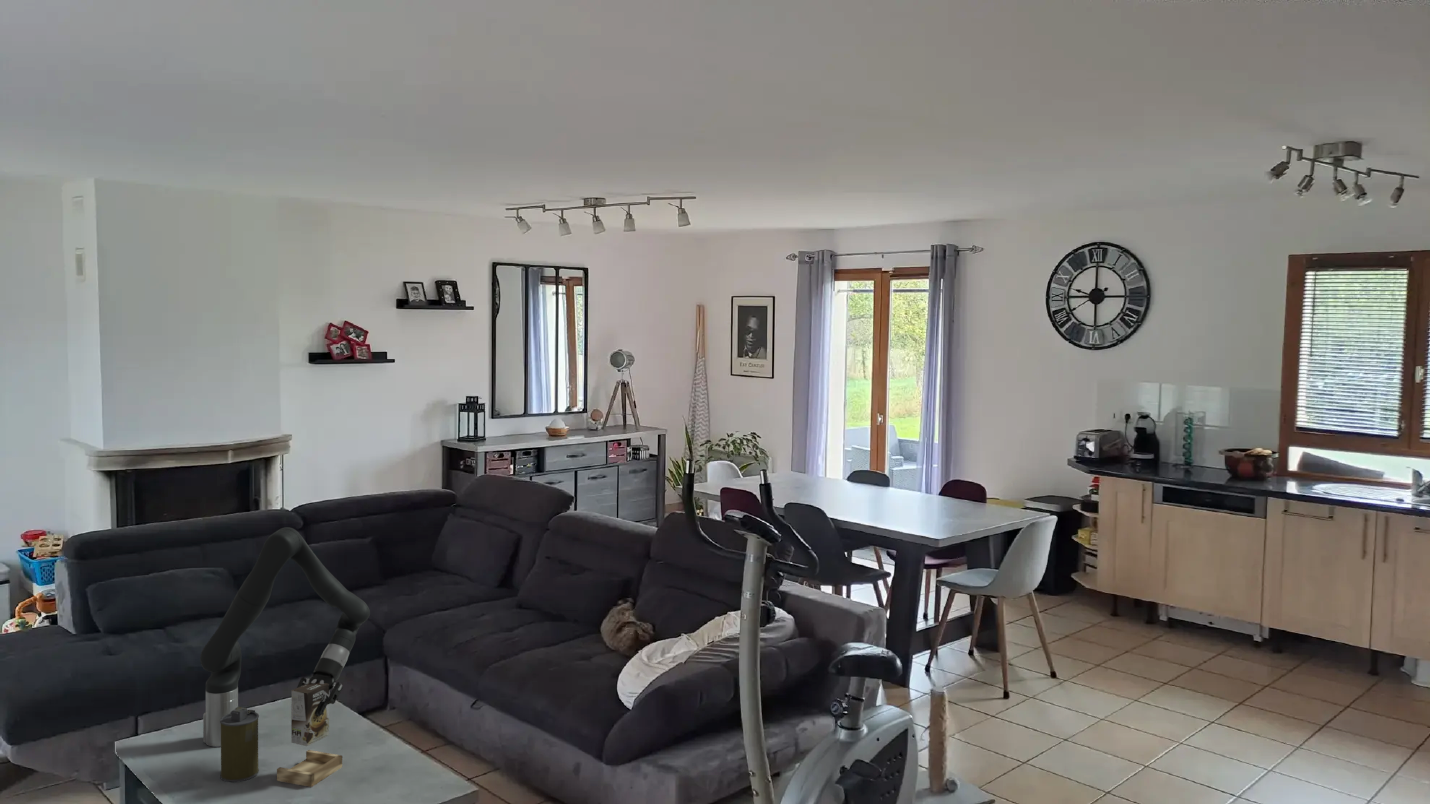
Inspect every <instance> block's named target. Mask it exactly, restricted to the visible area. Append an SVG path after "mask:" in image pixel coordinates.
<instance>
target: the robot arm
mask: <svg viewBox="0 0 1430 804" xmlns="http://www.w3.org/2000/svg"><path fill="white" fill-rule="evenodd" d="M308 544H309V543H307V542H306V540H305V539H304V537H303V536H302V535H301V533H300V532H299V531H297V530H296V529H295V528H293V527H289V526H287V527H286V526H285V527H281V528H280V529H278V530H276V531H275V532H273V533H272V534H270V535H269V536H267V539H266V540H265V542H264V544H263V545H262V548H261V551H260V553H259V555H258V558H257V560H256V562H255V564H254V566H253V568H252V569H251V571H250V572H249V574H248V575H247V577H246V578H245V579H244V580H243V583H242V584H241V586H240V588H239V589H238V590H237V592H236V595H234V598H233V599H232V601H231V603H230V605H229V607H228V608H227V611H226V613H224V614H225V615H224V616H223V618H222V620H221V622H220V624H219V625H218V627H217V629H216V630H215V632H214V633H213V635H212V636H210V638H209V640H208V641H207V643H206V644H205V645H204V647H203V648H202V650H201V652H200V656H199V661H200V665H201V667H202V668H203V670H205V671H206V672H210V676H209V677H208V678H207V680H206V681H205V712H204V713H202V714H203V715H202V716H203V717H202V718H203V719H202V725H203V726H202V728H203V729H202V730H203V731H202V733H203V734H202V735H203V743H205V744H206V745H207V746H210V747H221V723H220V719H221V718H222V717H223V716H225V715H227V714H230V713H231V711H232V710H234V709H235V708H237V707H239V687H238V686H239V680H240V679H241V678H240V677H241V673H242V649H241V645H240V642H239V641H238V640H239V639H240V638H241V636H242V635H243V634H244V633H245V632H246V631H247V630H248V629H249V628H250V627H251V626H252V625H253V623H255V621H256V620H257V619H258V618H259V616H260V615H261V614H262V612H263V610H264V609H265V607H266V605H267V603H268V602H269V600H270V598H271V595H272V590H273V587H274V584H275V580H276V577H277V576H278V574H279V573H280V571H281V570H282V568H283V567H284V565H286V563H287V562H288V561H289V560H290V559H291V560H292V561H294V562H295V563H296V565H297V566H298V567H300V568H301V570H302V572H303V573H304V574H305V576H306V579H307V580H308V582H309V584H310V586H311V588H312V589H313V590H314V592H315V593H316V594H317V596H319V598H321V599H322V601H324V602H325V603H326V604H327V605H328V606H329V607H331V608H337V609H338V610H340V611H341V612H342V613H341V615H340V617H339V619H338V621H337V624H336V628H335V630H334V633H333V634H332V636H331V638H330V639H329V642H328V644H327V646H326V647H325V649H324V650H323V652H322V654H321V656H320V658H319V660H318V662H317V663H316V666H315V668H314V669H313V674H312V676H311V677H310V678H306V677H305V676H302V677H301V678H300V680H299V682H298V684H297V686H296V688H298V687H301V686H303V685H305V684H308V683H310V682H311V683H317V682H320V684H324V683H327V684H329V695H328V694H327V693H326V692H325V691H324V692H323V697H322V702H320V703H319V705H318V707H317V709H316V711H315V715H316V716H319V717H320V716H321V715H322V714H323V712H324V710H325V708H326V706H327V705H328V704H329V705H334V704H335V703H336V701H337V699H338V697H339V696H340V694H341V692H342V691H343V688H344V686H343V684H342V683H341V682H339V681H338V680H339V678H340V676H341V673H342V671H343V670H344V667H345V665H346V663H347V661H348V659H349V656H350V653H351V651H352V649H353V647H354V646H355V645H354V644H355V642H356V638H357V637H356V636H357V634H358V631H359V629H360V627H361V626H362V625H363V624H364V623H365V622H367V621H368V619H369V618H370V617H371V616H370V615H371V610H370V608H369V606H368V604H367V603H366V602H365V601H364V600H363V599H361V598H360V597H359V596H357V595H356V594H354V593H353V592H351V591H350V590H348V589H347V588H346V587H345V586H344V584H342V583H341V582H340V581H339V580H338V579H337V577H335V576H334V575H333V574H332V573H331V572H330V571H329V569H328V568H326V567H325V565H324V564H323V563H322V561H321V560H320V559H319V558H318V556H317V555H316V553H314V551H313V550H312V548H311V547H310V546H309V545H308ZM330 691H331V692H330ZM326 697H327V698H326Z"/></svg>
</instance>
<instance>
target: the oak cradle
mask: <svg viewBox="0 0 1430 804" xmlns="http://www.w3.org/2000/svg"><path fill="white" fill-rule="evenodd" d="M305 754H306V755H305V759H304V760H302V761H301V762H299V763H297V764H296V765H294V766H292V767H290V768H287V767H281V766H279V767H278V768H276V781H277V782H282V783H288V784H291V785H292V784H293V785H299V786H303V787H304V786H305V787H310V788H312V787H314V786H316V785H317V784H318V783H321V782H322V781H323V780H324V779H326V778H328V777H329V776H331V775H333V774H334V773H336V772H337V771H338V770H340V769H341V768H343V755H341V754H337V753H335V754H334V753H329V752H325V751H324V752H323V751H316V750H310V749H307V750H306V751H305Z"/></svg>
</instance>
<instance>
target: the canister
mask: <svg viewBox="0 0 1430 804" xmlns="http://www.w3.org/2000/svg"><path fill="white" fill-rule="evenodd" d="M259 717H260V715H259V713H258V712H256V710H254V709H248V708H247V707H241V706H238V707H237V708H235V709H234V710H232V711H231V713H230V714H227V715H225V716H223V717H222V718H221V719H220V723H221V746H220V777H219V778H220V780H222V781H223V782H227V783H238V782H239V783H240V782H242V781H243V782H244V781H247V780H250V779H253V778H254V777H256V776H257V775H258V774H259V773H260V769H259Z"/></svg>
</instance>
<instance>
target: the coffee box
mask: <svg viewBox="0 0 1430 804" xmlns="http://www.w3.org/2000/svg"><path fill="white" fill-rule="evenodd" d="M324 691H325V692H326V693H327V694H328V695H329V691H330V690H329V684H327V683H324V684H320V682H317V683H311V682H310V683H308V684H305V685H303V686H301V687H298V688H297V687H296V688H293V689H291V706H290V707H291V716H290V718H291V720H290V723H291V733H290V734H291V736H290V737H291V738H290V742H291V744H296V745H301V746H304V747H309V746H310V745H313V744H315V743H317V742H318V741H321V740H323V739H324V738H327V737H329V736H330V704H328V705H327V706H326V708H325V710H324V712H323V714H322V715H321V716H320V717H319V716H316V715H315V711H316V709H317V707H318V705H319V703H320V702H322V697H323V692H324ZM326 698H327V697H326Z"/></svg>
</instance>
